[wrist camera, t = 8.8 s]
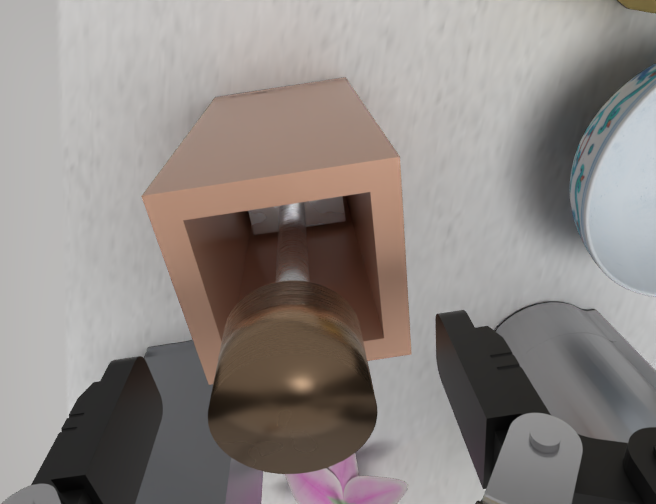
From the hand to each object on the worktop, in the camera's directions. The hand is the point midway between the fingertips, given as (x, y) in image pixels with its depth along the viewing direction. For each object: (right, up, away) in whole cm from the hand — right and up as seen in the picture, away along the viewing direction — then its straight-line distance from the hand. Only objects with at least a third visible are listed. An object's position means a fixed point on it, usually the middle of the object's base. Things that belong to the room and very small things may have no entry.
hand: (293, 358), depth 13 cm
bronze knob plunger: (-1, +7, +12) cm, 14 cm away
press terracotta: (-1, +9, +17) cm, 20 cm away
